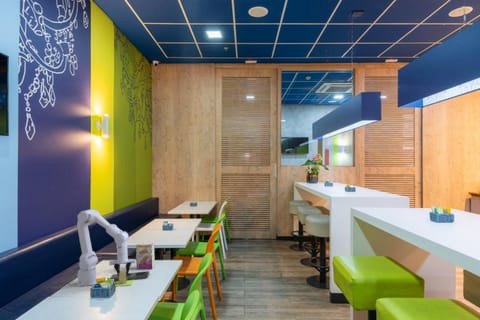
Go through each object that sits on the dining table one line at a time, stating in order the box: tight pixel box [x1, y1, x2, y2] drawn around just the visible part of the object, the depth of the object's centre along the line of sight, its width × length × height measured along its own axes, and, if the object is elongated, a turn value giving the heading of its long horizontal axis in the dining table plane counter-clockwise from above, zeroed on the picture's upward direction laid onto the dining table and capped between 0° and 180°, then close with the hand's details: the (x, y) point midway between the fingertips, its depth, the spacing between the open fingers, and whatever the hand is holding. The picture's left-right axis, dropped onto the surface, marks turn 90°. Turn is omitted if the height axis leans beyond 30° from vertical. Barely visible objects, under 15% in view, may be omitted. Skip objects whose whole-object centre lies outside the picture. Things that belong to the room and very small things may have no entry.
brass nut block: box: [119, 269, 128, 283], centre depth 177 cm, size 4×4×6 cm
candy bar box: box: [135, 242, 156, 270], centre depth 203 cm, size 11×5×16 cm, turn 84°
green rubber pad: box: [115, 280, 134, 288], centre depth 177 cm, size 10×7×1 cm
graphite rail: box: [109, 270, 150, 282], centre depth 186 cm, size 22×7×2 cm, turn 99°
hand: (123, 276), depth 177 cm, fingers closed on brass nut block, 4 cm apart
